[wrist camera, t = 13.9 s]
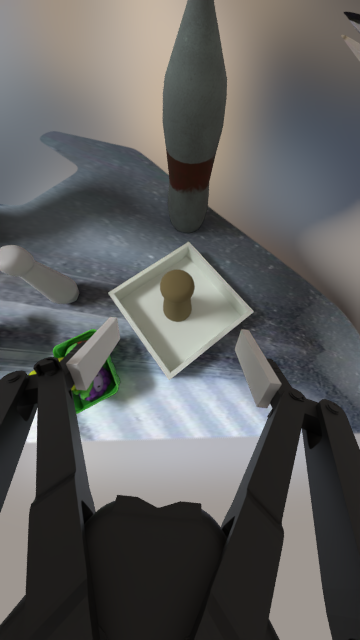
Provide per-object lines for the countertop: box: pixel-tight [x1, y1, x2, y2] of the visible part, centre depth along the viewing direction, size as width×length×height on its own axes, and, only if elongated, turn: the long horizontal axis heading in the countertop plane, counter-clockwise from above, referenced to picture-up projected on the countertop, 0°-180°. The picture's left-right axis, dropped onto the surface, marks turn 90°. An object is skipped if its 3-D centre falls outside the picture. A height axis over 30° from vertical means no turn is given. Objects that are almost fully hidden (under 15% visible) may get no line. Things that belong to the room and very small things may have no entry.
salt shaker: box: [0, 245, 80, 304], centre depth 27 cm, size 6×6×13 cm
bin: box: [108, 242, 254, 380], centre depth 31 cm, size 20×20×4 cm
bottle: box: [163, 0, 227, 233], centre depth 25 cm, size 9×9×30 cm
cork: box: [160, 269, 195, 322], centre depth 27 cm, size 6×6×11 cm
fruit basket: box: [29, 329, 120, 414], centre depth 24 cm, size 11×9×11 cm
